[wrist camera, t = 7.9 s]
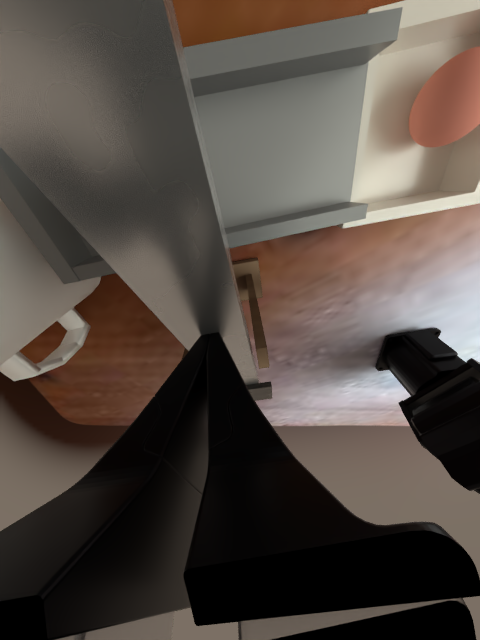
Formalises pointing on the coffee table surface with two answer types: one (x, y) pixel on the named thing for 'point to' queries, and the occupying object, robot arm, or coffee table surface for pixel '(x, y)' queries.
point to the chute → (252, 137)
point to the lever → (124, 155)
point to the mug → (34, 303)
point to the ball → (448, 102)
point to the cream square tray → (394, 110)
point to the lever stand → (251, 303)
